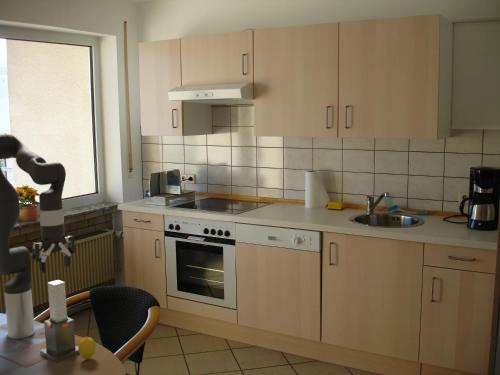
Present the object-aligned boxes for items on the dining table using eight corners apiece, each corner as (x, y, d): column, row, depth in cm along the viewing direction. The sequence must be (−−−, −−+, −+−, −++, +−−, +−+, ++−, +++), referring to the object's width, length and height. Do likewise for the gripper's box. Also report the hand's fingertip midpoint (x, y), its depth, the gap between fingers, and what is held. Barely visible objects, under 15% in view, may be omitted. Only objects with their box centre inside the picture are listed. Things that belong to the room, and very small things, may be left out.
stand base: (40, 354, 187) (37, 321, 185) (66, 344, 194) (64, 312, 193) (55, 362, 180) (52, 328, 179) (82, 352, 188) (79, 319, 186)
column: (51, 335, 186) (47, 282, 183) (62, 331, 189) (58, 279, 187) (57, 338, 183) (53, 285, 181) (68, 334, 187) (65, 282, 184)
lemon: (91, 363, 179) (89, 340, 178) (76, 362, 181) (74, 339, 179) (99, 356, 185) (97, 333, 184) (84, 355, 186) (82, 332, 185)
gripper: (65, 217, 188) (68, 263, 191) (26, 224, 178) (29, 272, 180) (77, 220, 183) (80, 266, 186) (37, 227, 173) (40, 276, 175)
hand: (55, 269), depth 183 cm, fingers open, 8 cm apart
